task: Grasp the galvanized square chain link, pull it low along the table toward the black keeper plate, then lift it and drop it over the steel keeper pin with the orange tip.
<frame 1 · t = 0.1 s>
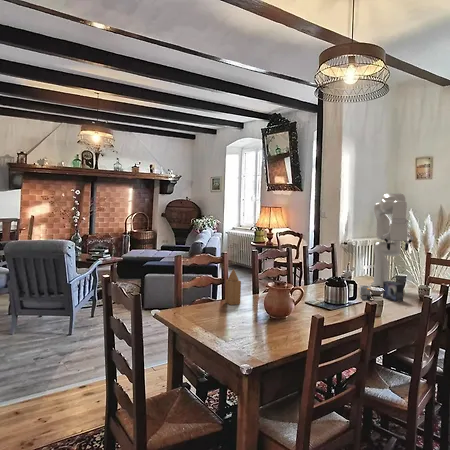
hand: (397, 250, 228), 31 cm above the table, fingers open, 9 cm apart
keeper: (368, 299, 234), on the table
small box: (392, 299, 236), on the table
link: (364, 294, 248), on the table
decorative item: (232, 303, 216), on the table
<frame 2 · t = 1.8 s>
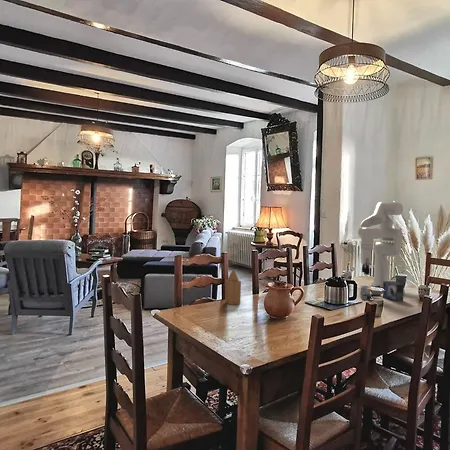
hand: (365, 273, 247), 14 cm above the table, fingers open, 9 cm apart
nothing on the table moved.
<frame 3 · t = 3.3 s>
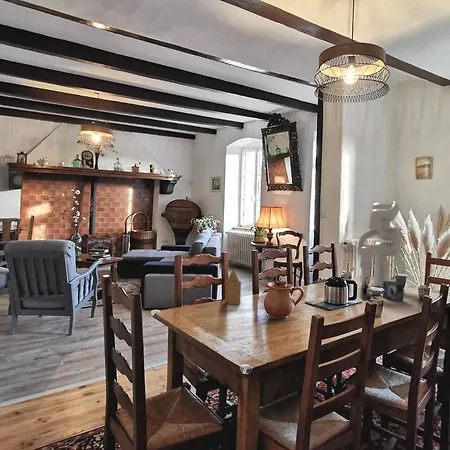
hand: (364, 292, 248), 1 cm above the table, fingers closed on link, 6 cm apart
link: (364, 294, 248), on the table, touching gripper
everything else where it was.
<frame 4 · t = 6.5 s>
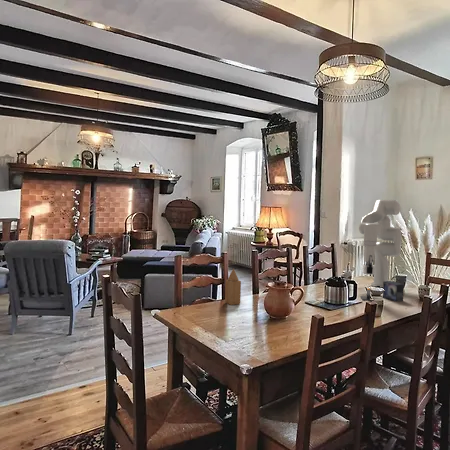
hand: (368, 272, 236), 16 cm above the table, fingers closed on link, 6 cm apart
link: (368, 273, 236), point 15 cm above the table, touching gripper
everything else where it was.
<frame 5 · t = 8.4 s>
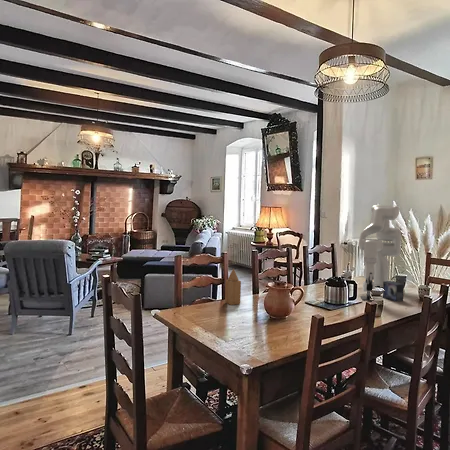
hand: (368, 289, 234), 6 cm above the table, fingers closed on link, 6 cm apart
link: (368, 290, 234), point 5 cm above the table, touching gripper
everything else where it was.
when the fingers open (4 cm above the table, at t = 9.8 s): link drops 2 cm, resting on keeper.
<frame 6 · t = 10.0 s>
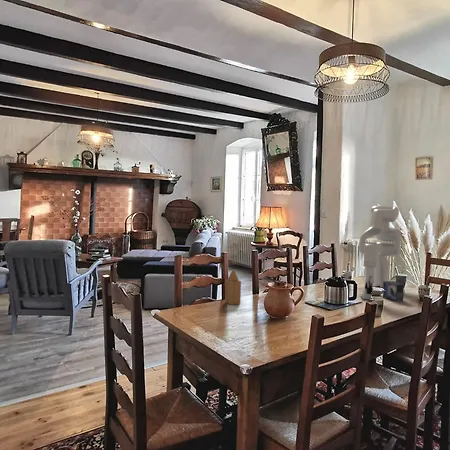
hand: (368, 292, 234), 4 cm above the table, fingers open, 8 cm apart
link: (368, 297, 234), point 1 cm above the table, touching keeper
everything else where it was.
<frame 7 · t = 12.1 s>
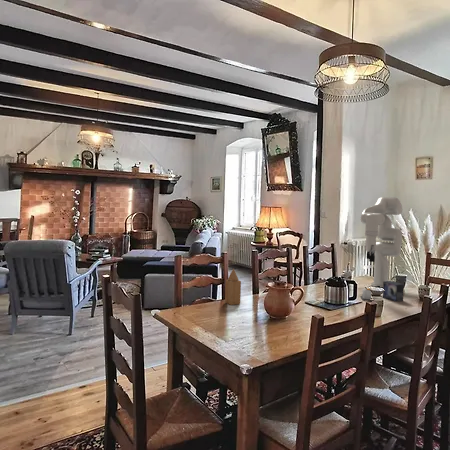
hand: (370, 260, 243), 23 cm above the table, fingers open, 9 cm apart
nothing on the table moved.
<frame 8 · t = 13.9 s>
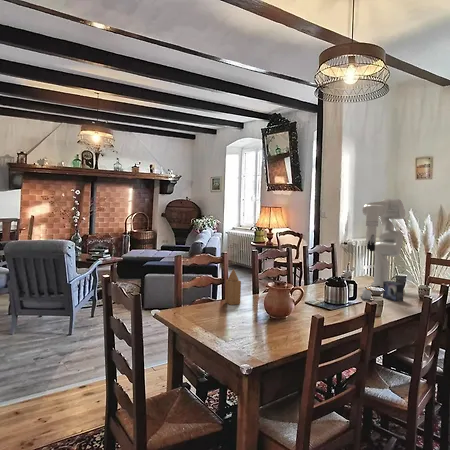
hand: (370, 250, 250), 28 cm above the table, fingers open, 9 cm apart
nothing on the table moved.
at the end: link 0.1 cm off-centre on the keeper, point 0.8 cm above the keeper's base; the gripper is holding nothing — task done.
